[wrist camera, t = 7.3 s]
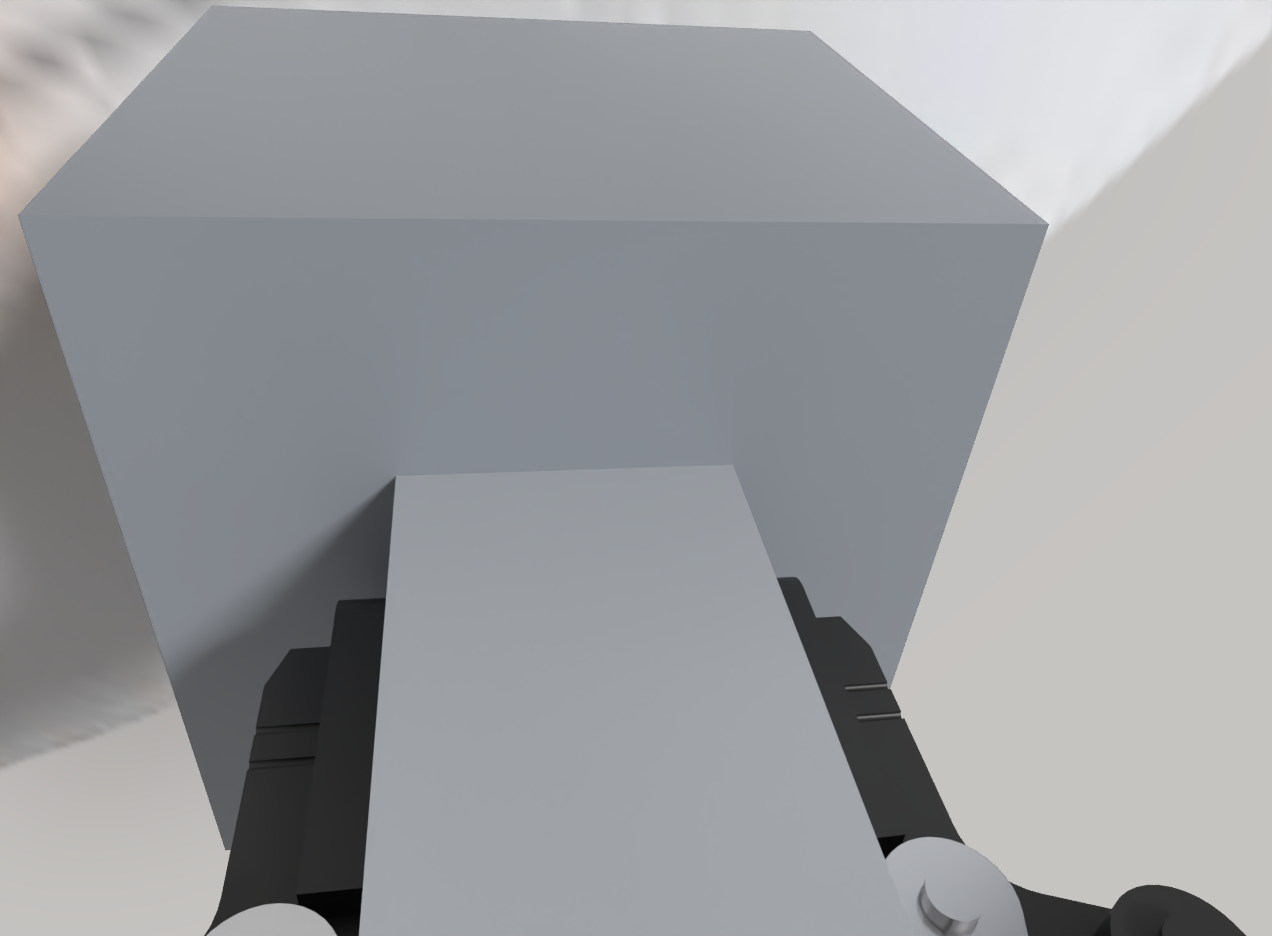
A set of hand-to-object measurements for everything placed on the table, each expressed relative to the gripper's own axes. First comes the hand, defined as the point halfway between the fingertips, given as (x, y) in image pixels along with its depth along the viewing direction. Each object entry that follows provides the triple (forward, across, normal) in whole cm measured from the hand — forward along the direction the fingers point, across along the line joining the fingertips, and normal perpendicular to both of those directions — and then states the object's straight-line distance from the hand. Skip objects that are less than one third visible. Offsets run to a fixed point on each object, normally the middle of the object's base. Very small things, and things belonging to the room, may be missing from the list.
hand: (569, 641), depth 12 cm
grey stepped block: (+10, 0, 0) cm, 10 cm away
